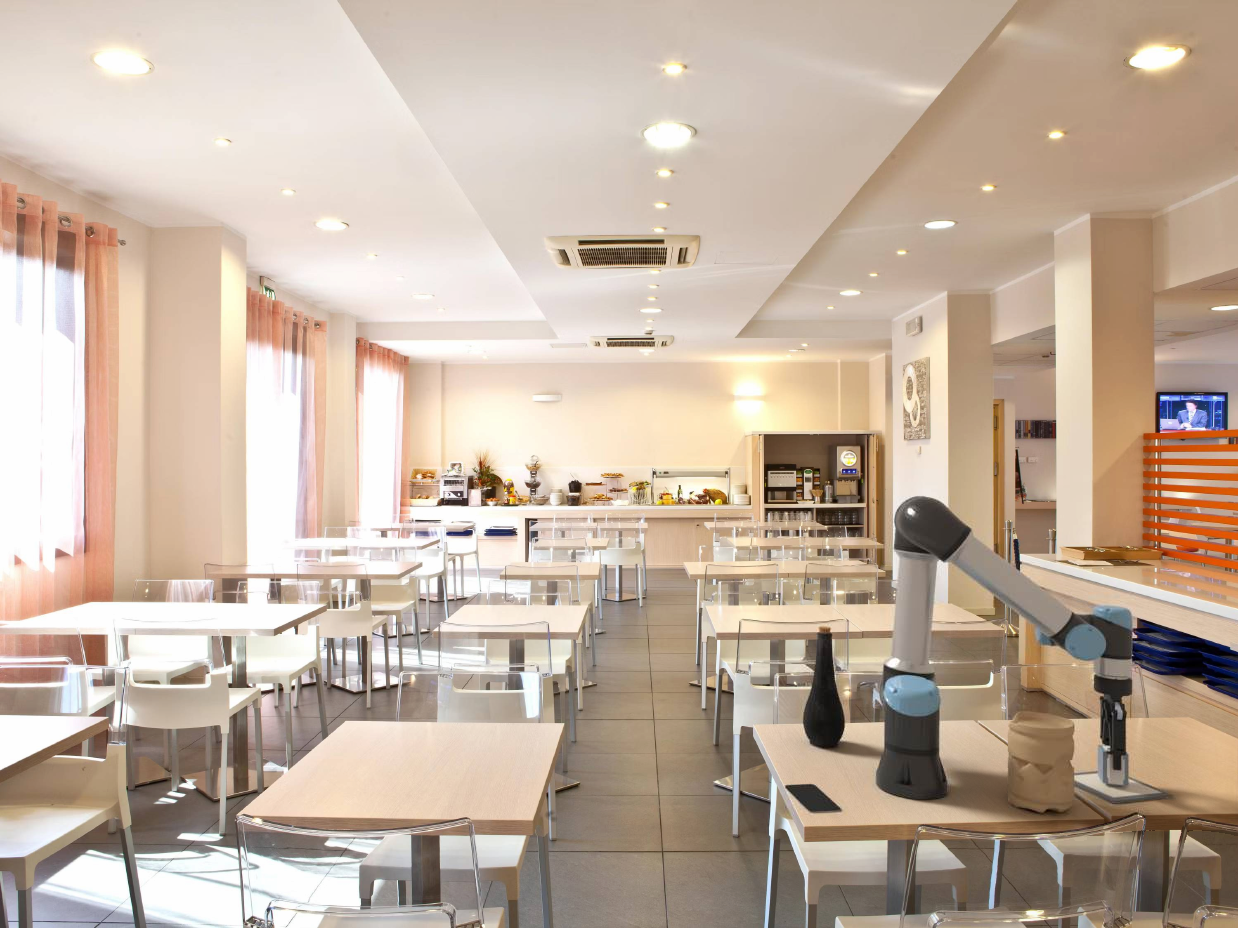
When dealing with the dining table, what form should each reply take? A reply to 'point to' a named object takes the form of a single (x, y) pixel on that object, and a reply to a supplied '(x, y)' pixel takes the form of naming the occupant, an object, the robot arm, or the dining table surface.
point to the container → (1040, 762)
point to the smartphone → (812, 798)
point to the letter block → (1104, 765)
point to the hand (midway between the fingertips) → (1112, 778)
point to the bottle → (824, 698)
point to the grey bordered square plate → (1117, 789)
